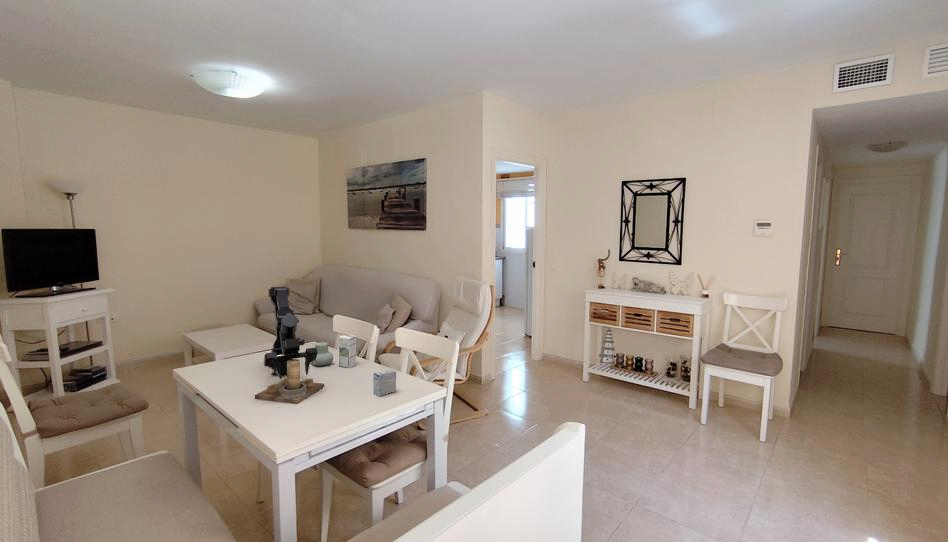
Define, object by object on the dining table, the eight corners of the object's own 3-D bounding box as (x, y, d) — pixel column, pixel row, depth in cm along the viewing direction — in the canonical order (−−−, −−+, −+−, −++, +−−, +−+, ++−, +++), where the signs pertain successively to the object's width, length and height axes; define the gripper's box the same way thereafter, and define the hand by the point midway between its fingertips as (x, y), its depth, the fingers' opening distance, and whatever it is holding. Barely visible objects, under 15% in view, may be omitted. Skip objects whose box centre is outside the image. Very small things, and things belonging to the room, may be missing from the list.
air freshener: (308, 363, 207) (308, 342, 206) (325, 360, 213) (325, 340, 212) (318, 368, 199) (317, 347, 198) (335, 365, 205) (334, 344, 204)
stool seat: (254, 398, 162) (254, 387, 162) (285, 382, 180) (285, 372, 179) (297, 404, 158) (296, 392, 158) (324, 387, 176) (324, 376, 176)
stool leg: (285, 394, 163) (284, 360, 162) (296, 391, 167) (296, 358, 166) (291, 397, 161) (290, 363, 159) (302, 394, 164) (301, 360, 163)
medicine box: (389, 389, 176) (390, 368, 175) (396, 392, 172) (396, 371, 172) (372, 393, 170) (373, 372, 169) (379, 397, 167) (379, 375, 166)
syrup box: (356, 364, 206) (356, 335, 205) (349, 368, 201) (349, 337, 199) (346, 363, 208) (346, 333, 207) (338, 366, 202) (338, 336, 201)
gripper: (264, 332, 160) (268, 369, 152) (316, 327, 170) (323, 362, 162) (261, 348, 167) (266, 384, 159) (312, 342, 177) (318, 376, 169)
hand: (294, 376), depth 162 cm, fingers open, 9 cm apart
